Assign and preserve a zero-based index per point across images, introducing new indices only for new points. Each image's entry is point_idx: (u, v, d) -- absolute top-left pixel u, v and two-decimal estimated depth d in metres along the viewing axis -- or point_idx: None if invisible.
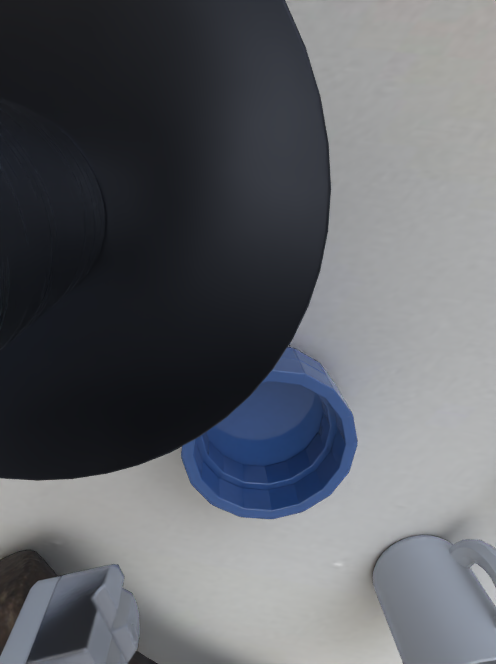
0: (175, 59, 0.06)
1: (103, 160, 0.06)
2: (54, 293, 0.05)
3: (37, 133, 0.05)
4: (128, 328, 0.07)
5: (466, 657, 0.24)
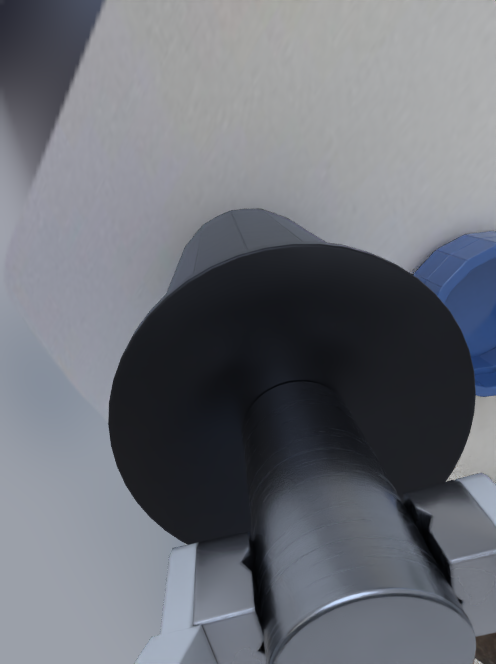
0: (286, 313, 0.10)
1: (305, 373, 0.11)
2: (370, 448, 0.10)
3: (299, 408, 0.10)
4: (388, 411, 0.12)
5: None
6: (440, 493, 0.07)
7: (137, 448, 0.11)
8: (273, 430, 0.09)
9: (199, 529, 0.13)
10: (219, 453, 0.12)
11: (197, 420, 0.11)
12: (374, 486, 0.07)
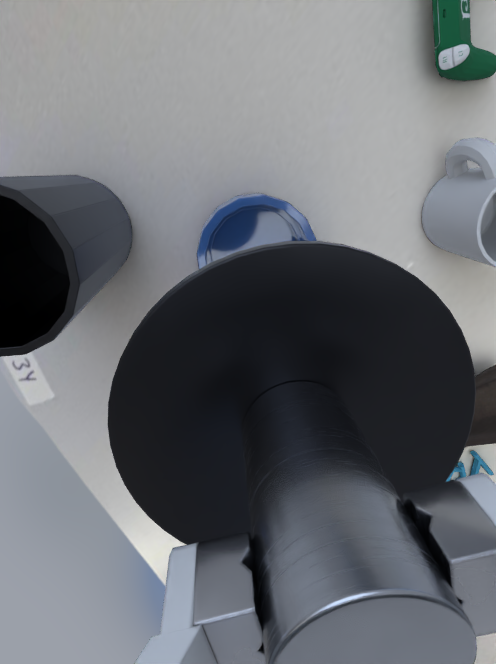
0: (285, 313, 0.10)
1: (305, 373, 0.11)
2: (370, 448, 0.10)
3: (299, 408, 0.10)
4: (388, 411, 0.12)
5: (476, 214, 0.30)
6: (440, 493, 0.07)
7: (136, 448, 0.11)
8: (273, 430, 0.09)
9: (198, 529, 0.13)
10: (219, 453, 0.12)
11: (196, 420, 0.11)
12: (374, 486, 0.07)
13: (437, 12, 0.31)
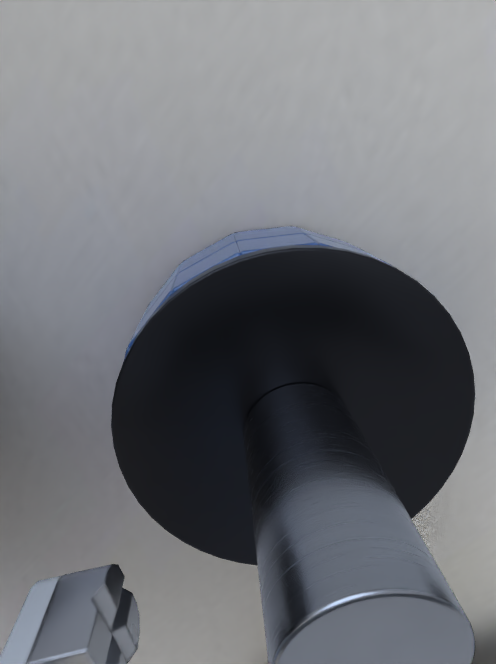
0: (287, 316, 0.11)
1: (306, 375, 0.11)
2: (371, 449, 0.10)
3: (300, 410, 0.10)
4: (388, 412, 0.12)
5: None
6: None
7: (139, 449, 0.12)
8: (275, 432, 0.10)
9: (200, 530, 0.13)
10: (221, 454, 0.12)
11: (199, 422, 0.11)
12: (374, 488, 0.08)
13: None
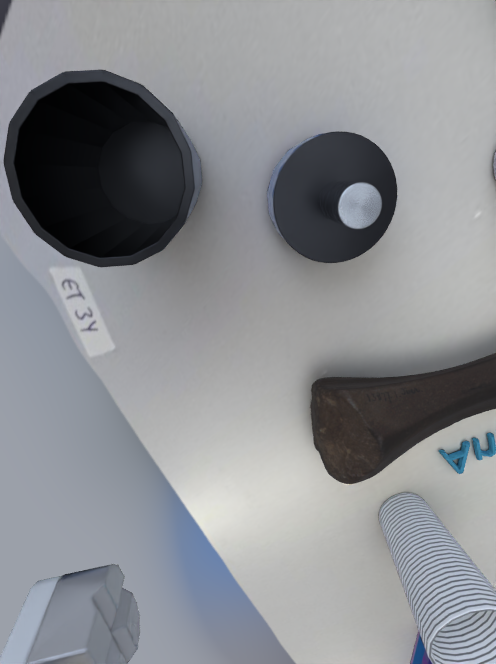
0: (333, 155, 0.33)
1: (339, 178, 0.33)
2: None
3: (338, 181, 0.32)
4: None
5: None
6: None
7: (282, 205, 0.34)
8: (331, 185, 0.32)
9: (299, 242, 0.35)
10: (309, 209, 0.34)
11: (303, 195, 0.34)
12: None
13: None
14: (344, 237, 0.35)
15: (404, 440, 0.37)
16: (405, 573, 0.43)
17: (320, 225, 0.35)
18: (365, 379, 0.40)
